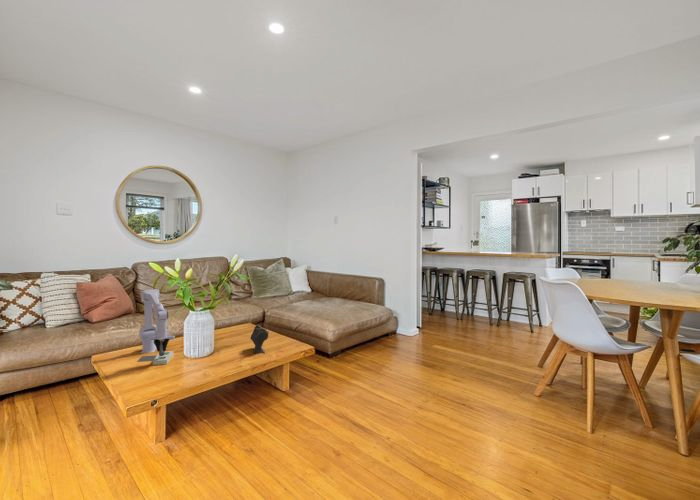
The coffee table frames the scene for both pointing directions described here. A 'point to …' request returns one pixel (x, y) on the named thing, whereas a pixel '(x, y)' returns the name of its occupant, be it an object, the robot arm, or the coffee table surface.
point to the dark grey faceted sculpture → (259, 338)
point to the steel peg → (161, 348)
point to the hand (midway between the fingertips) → (161, 350)
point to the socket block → (163, 358)
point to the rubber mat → (146, 358)
